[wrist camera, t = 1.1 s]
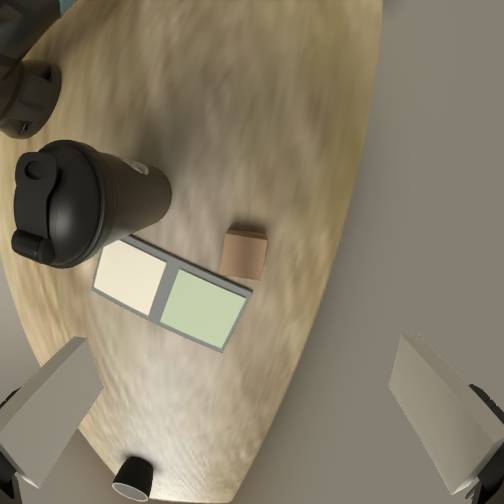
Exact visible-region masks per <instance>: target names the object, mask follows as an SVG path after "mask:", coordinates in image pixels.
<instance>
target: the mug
mask: <svg viewBox="0 0 504 504" xmlns="http://www.w3.org/2000/svg"><path fill="white" fill-rule="evenodd" d="M152 480H153V469H152V466H151V465H150V464H149V463H148V462H146V461H145V460H143V459H140V458H136V457H131V458H129V459H127V460H126V461H125V462H124V464H123V465H122V467H121V468H120V470H119V471H118V473H117V475H116V477H115V479H114V481H113V484H112V486H113V488H114V489H115V490H116V491H117V492H119V493H120V494H122V495H124V496H126V497H128V498H130V499H134V500H137V501H147V500H148V499H149V496H150V492H151V487H152Z"/></svg>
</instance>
